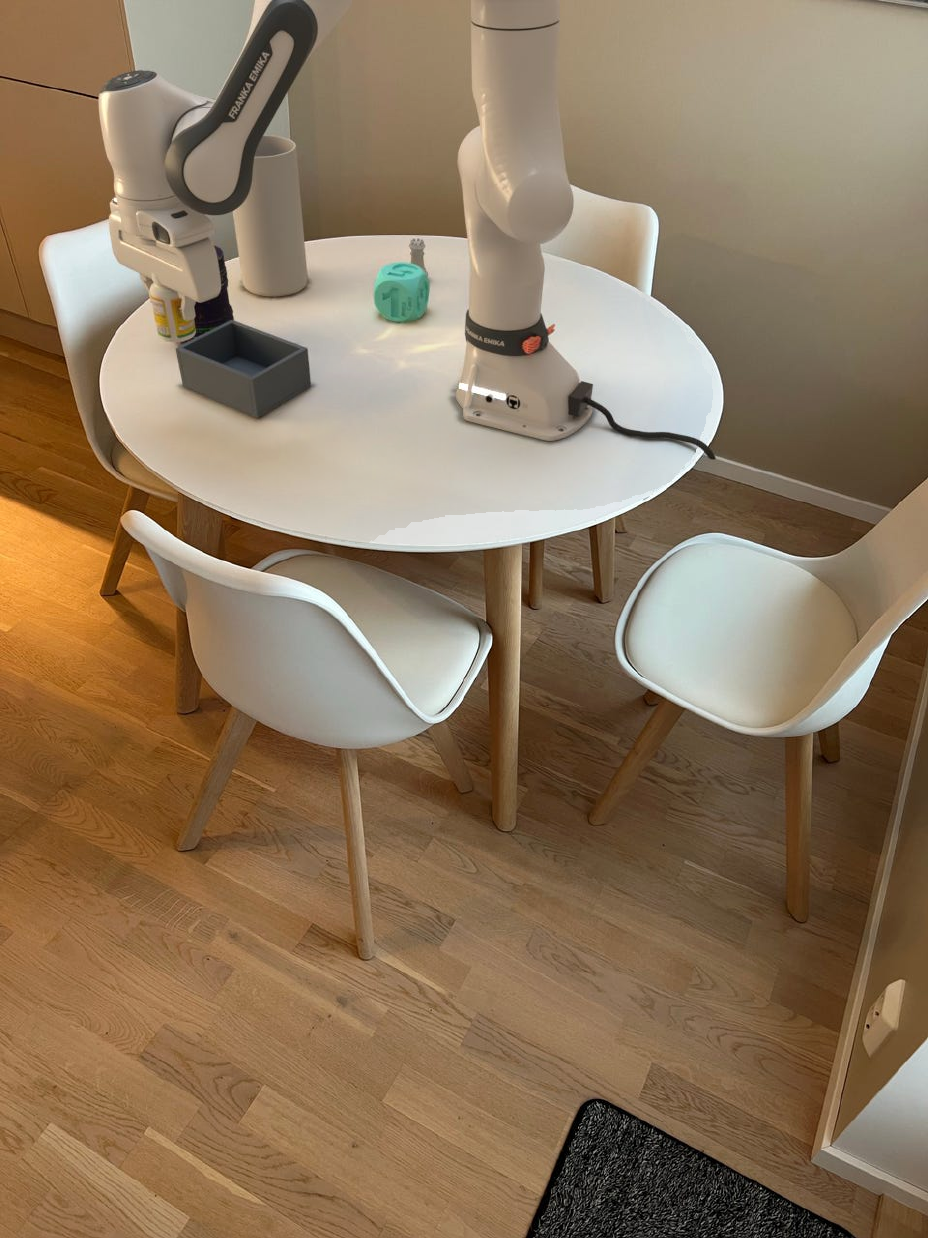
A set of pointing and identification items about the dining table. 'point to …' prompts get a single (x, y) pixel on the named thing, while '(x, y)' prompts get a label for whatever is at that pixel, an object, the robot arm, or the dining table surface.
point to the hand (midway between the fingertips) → (173, 311)
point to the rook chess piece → (417, 253)
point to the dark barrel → (214, 304)
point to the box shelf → (244, 368)
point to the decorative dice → (401, 292)
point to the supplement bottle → (169, 313)
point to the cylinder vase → (272, 223)
